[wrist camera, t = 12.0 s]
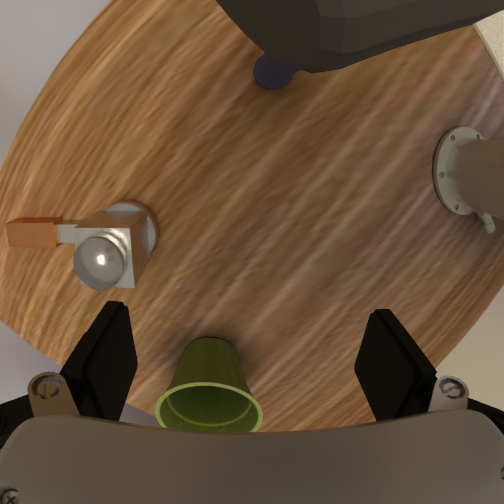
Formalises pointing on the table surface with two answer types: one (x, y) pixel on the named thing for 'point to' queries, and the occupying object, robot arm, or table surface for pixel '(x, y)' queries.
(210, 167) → the table surface
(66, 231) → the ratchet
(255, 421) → the plant pot
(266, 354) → the table surface
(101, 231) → the socket
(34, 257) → the table surface
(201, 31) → the table surface
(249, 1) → the rubber mallet
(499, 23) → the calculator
